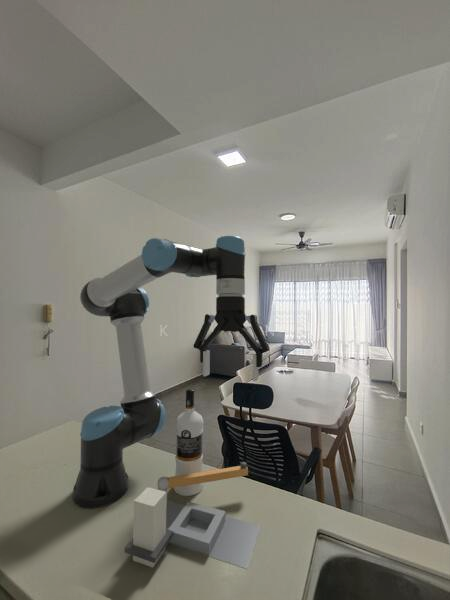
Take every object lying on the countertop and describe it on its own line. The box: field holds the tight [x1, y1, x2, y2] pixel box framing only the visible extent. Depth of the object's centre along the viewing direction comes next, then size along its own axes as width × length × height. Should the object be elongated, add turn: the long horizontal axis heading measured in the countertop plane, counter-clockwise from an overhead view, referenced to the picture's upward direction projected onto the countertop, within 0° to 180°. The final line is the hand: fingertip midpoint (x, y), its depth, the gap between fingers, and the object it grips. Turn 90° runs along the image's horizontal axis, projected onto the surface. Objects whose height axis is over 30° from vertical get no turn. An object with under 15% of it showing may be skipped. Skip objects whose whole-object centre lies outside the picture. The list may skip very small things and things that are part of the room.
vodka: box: [173, 388, 205, 497], centre depth 86 cm, size 9×9×30 cm
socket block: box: [165, 490, 262, 570], centre depth 69 cm, size 28×12×6 cm, turn 70°
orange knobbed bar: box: [157, 461, 249, 491], centre depth 80 cm, size 26×3×3 cm, turn 107°
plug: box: [124, 486, 173, 568], centre depth 62 cm, size 7×7×13 cm
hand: (230, 377), depth 74 cm, fingers open, 13 cm apart
